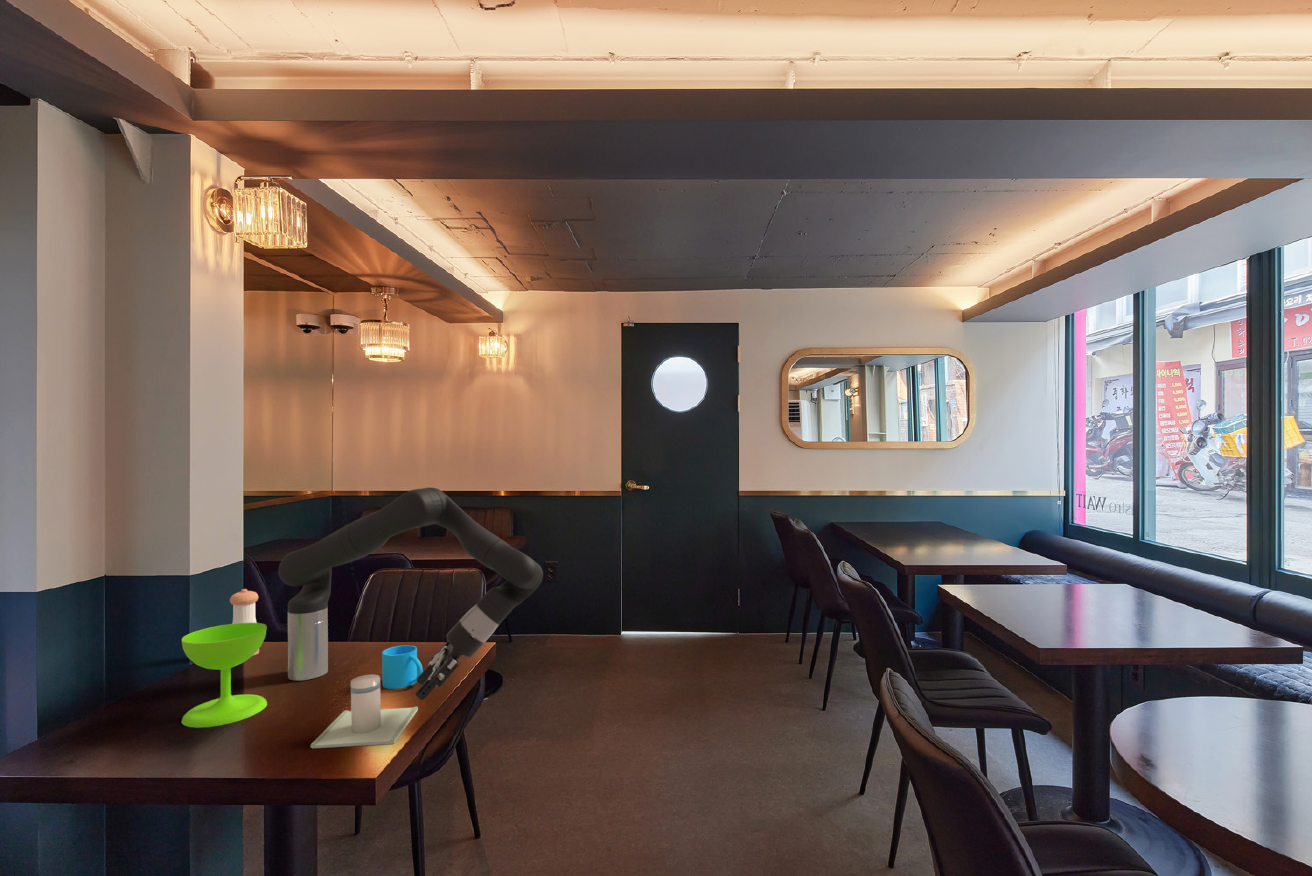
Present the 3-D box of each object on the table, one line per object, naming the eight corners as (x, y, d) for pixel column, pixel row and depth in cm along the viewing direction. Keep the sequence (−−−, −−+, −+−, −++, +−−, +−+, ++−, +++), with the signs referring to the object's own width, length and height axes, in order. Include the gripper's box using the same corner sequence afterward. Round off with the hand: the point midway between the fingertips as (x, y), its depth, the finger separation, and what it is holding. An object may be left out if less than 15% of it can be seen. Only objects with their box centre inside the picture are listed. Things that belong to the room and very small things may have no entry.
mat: (344, 714, 137) (344, 710, 137) (417, 710, 138) (417, 706, 138) (310, 748, 121) (310, 744, 121) (394, 743, 122) (394, 739, 122)
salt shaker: (222, 658, 176) (222, 591, 177) (243, 650, 183) (243, 586, 184) (244, 659, 175) (244, 592, 176) (265, 651, 182) (265, 586, 183)
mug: (375, 685, 154) (375, 653, 154) (402, 674, 161) (402, 643, 161) (408, 693, 148) (408, 660, 148) (434, 682, 155) (434, 650, 156)
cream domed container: (353, 724, 130) (352, 677, 131) (382, 719, 132) (381, 672, 133) (349, 735, 125) (348, 686, 125) (380, 730, 127) (379, 681, 127)
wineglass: (219, 697, 148) (219, 622, 148) (282, 697, 147) (282, 622, 147) (162, 727, 132) (162, 643, 132) (233, 728, 131) (232, 643, 131)
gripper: (459, 612, 142) (406, 668, 138) (462, 628, 129) (404, 691, 125) (483, 632, 144) (432, 688, 140) (488, 650, 131) (432, 713, 126)
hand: (419, 689), depth 132 cm, fingers open, 8 cm apart
